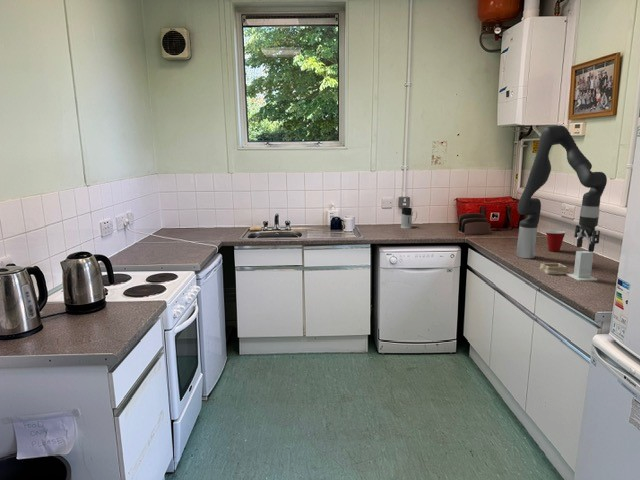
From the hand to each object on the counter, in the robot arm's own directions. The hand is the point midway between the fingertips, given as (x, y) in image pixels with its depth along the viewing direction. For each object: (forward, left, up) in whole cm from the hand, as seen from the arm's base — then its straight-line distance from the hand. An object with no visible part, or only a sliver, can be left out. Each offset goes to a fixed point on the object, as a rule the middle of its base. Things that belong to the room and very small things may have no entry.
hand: (584, 249), depth 207 cm
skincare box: (0, 0, -13) cm, 13 cm away
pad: (0, 0, -14) cm, 14 cm away
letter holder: (-111, -8, -14) cm, 113 cm away
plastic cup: (-54, +18, -14) cm, 58 cm away
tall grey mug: (-136, -49, -14) cm, 145 cm away
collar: (-10, -8, -14) cm, 19 cm away
